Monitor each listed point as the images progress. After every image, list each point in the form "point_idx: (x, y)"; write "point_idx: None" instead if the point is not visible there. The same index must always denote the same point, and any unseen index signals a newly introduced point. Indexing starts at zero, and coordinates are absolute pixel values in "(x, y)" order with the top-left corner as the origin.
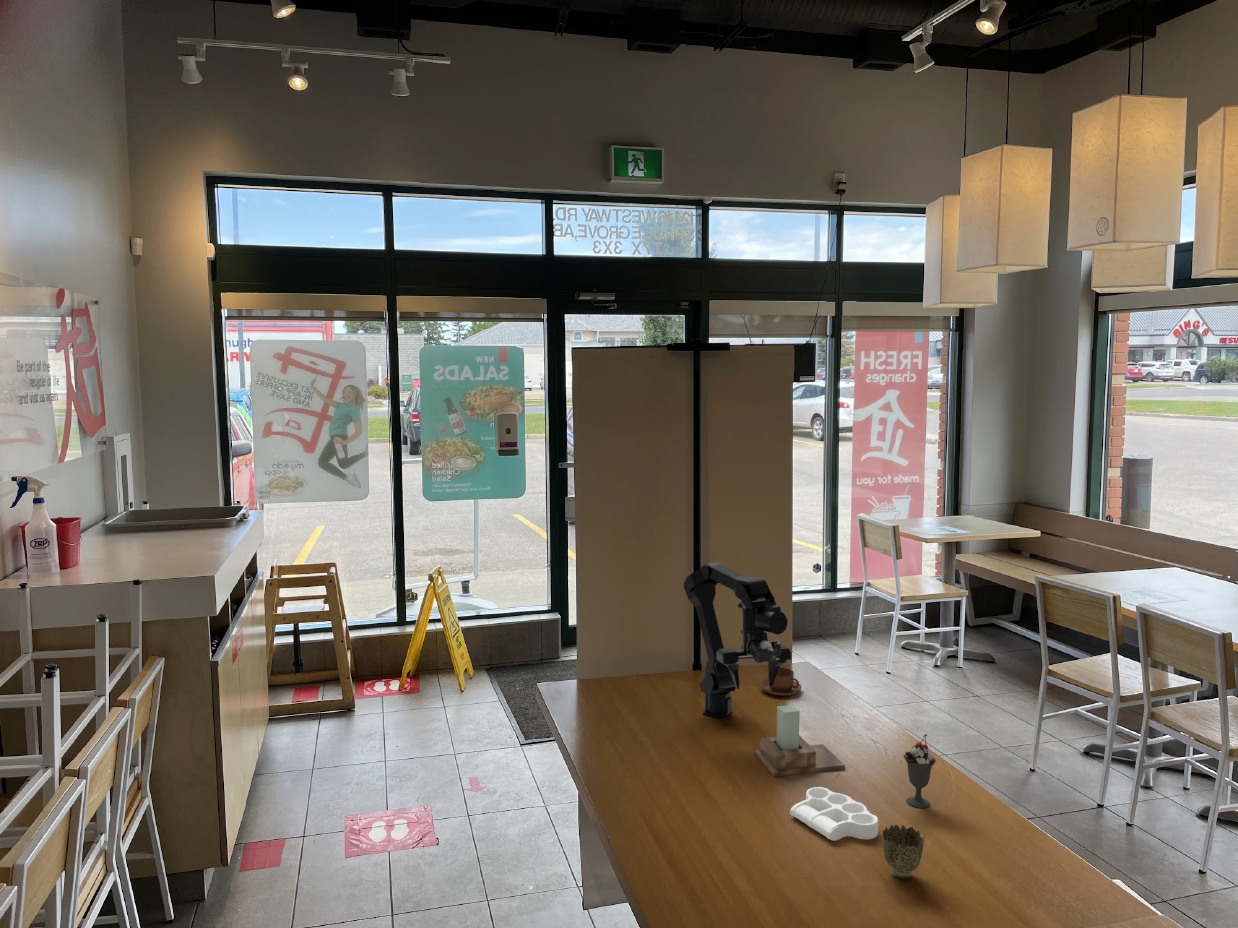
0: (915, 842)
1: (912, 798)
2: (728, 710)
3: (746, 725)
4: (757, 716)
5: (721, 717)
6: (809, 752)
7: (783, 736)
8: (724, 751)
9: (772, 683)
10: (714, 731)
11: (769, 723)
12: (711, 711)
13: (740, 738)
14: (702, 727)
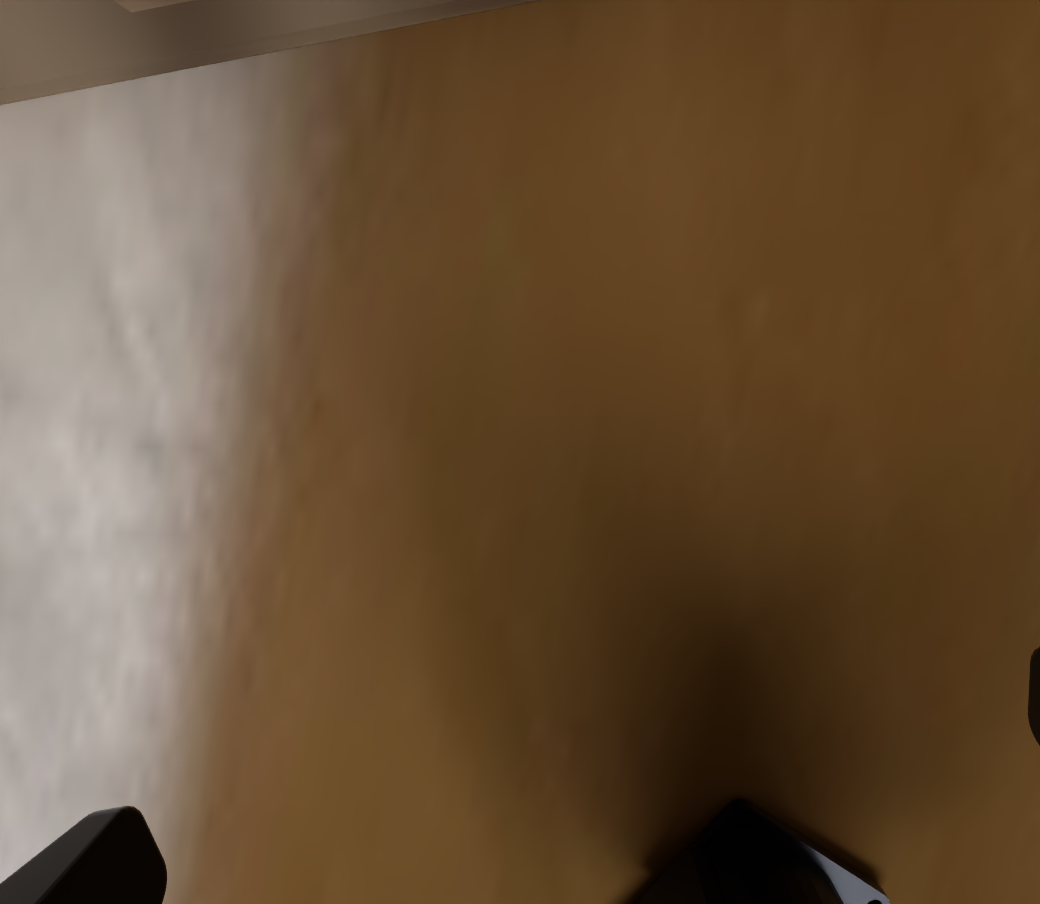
0: None
1: None
2: (687, 881)
3: (556, 664)
4: (424, 834)
5: (748, 805)
6: None
7: None
8: (908, 80)
9: (48, 857)
10: (875, 549)
11: (343, 698)
12: (829, 886)
13: (673, 389)
14: (957, 634)
